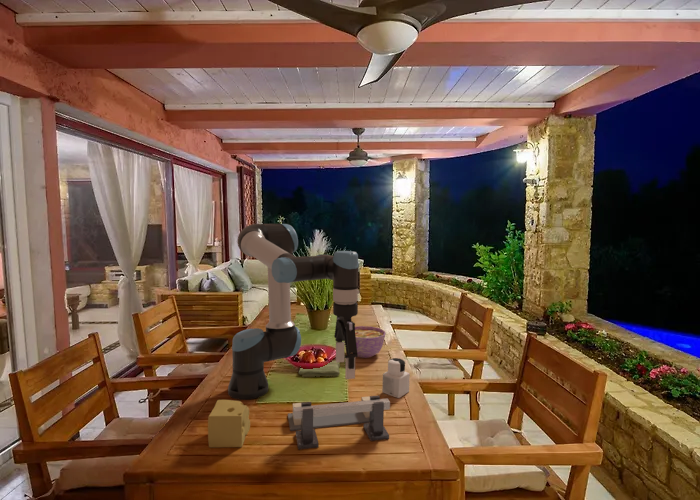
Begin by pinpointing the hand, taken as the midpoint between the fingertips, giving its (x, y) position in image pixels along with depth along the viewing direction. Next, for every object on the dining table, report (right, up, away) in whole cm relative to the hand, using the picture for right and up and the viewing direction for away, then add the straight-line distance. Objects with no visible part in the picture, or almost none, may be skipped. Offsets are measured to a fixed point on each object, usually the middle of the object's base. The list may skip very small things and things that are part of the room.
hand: (344, 369), depth 122 cm
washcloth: (-12, -17, +52) cm, 56 cm away
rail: (-1, -13, 0) cm, 13 cm away
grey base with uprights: (-3, -20, +12) cm, 24 cm away
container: (+19, -19, +32) cm, 42 cm away
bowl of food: (+9, -15, +73) cm, 75 cm away
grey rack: (-1, -21, +1) cm, 21 cm away
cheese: (-35, -21, -1) cm, 41 cm away
